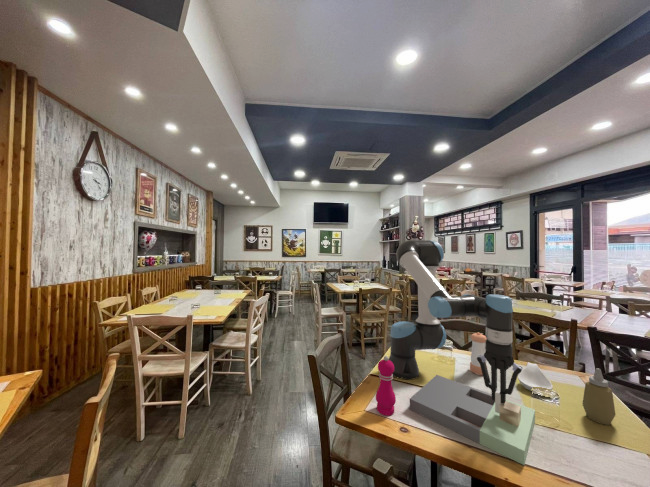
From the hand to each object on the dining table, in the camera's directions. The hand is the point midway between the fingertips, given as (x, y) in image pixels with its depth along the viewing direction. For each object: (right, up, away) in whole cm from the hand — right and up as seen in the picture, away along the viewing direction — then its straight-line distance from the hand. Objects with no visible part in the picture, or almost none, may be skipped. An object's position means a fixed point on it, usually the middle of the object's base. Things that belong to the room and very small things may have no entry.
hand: (498, 410), depth 86 cm
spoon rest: (+36, -7, +29) cm, 47 cm away
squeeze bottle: (+39, -7, +5) cm, 40 cm away
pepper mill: (-37, -5, +8) cm, 38 cm away
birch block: (+2, -2, -2) cm, 4 cm away
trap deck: (-6, -6, +6) cm, 10 cm away
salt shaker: (+17, -7, +39) cm, 43 cm away
